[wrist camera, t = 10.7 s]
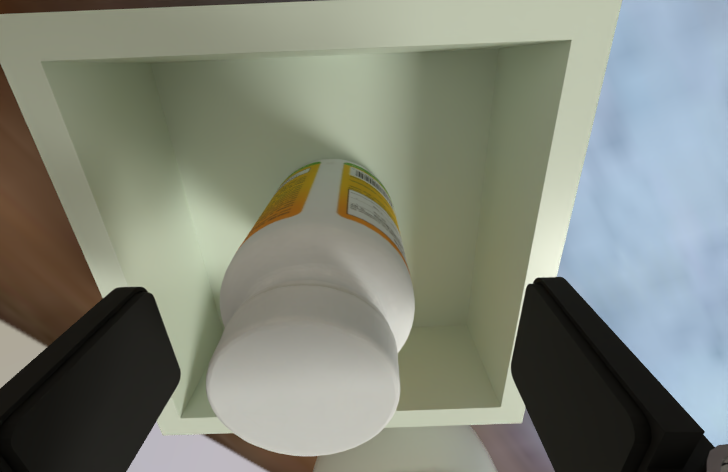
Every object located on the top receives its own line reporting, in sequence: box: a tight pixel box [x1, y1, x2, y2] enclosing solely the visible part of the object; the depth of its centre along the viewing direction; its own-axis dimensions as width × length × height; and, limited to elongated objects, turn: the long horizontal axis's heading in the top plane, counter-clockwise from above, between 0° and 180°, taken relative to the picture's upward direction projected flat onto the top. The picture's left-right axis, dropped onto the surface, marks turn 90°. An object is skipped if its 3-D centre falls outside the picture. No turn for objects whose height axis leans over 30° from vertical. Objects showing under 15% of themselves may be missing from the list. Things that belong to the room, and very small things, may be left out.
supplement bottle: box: [206, 159, 415, 456], centre depth 11 cm, size 5×5×10 cm
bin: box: [0, 0, 622, 435], centre depth 14 cm, size 15×15×6 cm
